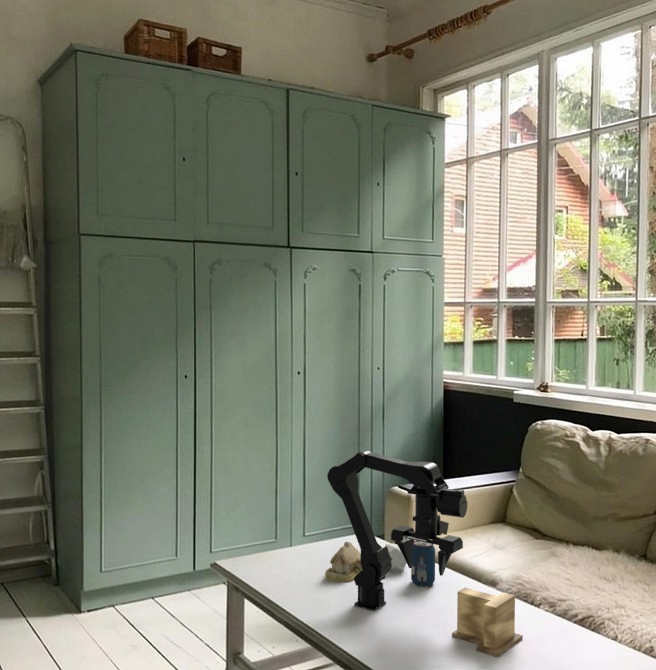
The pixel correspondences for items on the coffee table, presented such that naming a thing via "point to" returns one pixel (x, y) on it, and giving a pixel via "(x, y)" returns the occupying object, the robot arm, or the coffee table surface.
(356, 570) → the ceramic model
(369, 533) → the robot arm
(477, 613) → the oak T block
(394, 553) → the white polyhedron
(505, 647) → the walnut T outline
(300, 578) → the coffee table surface
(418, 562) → the soda can
